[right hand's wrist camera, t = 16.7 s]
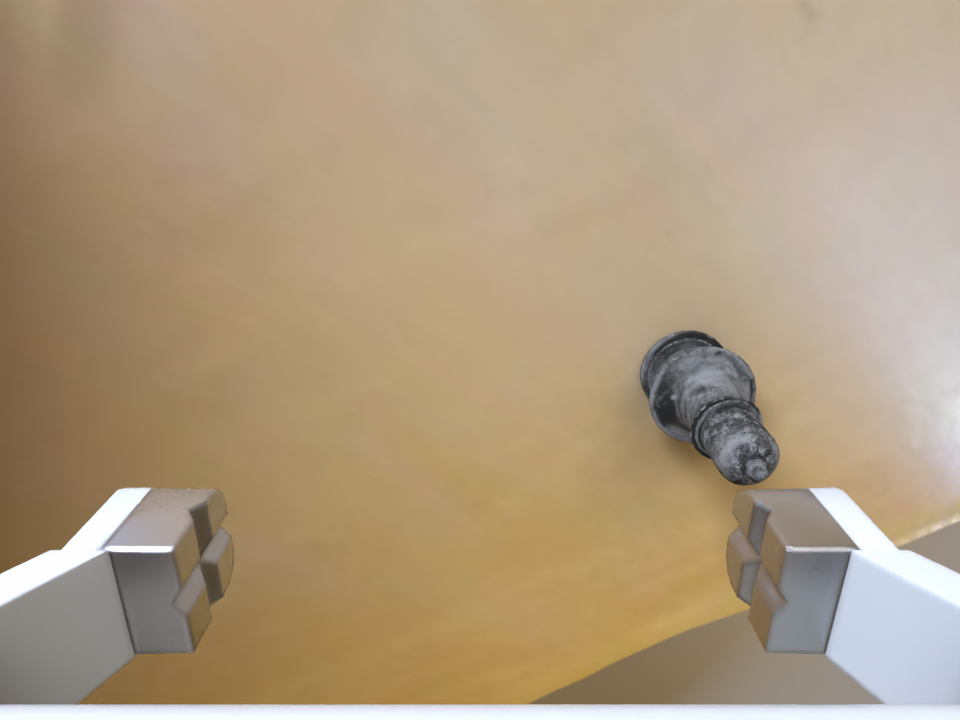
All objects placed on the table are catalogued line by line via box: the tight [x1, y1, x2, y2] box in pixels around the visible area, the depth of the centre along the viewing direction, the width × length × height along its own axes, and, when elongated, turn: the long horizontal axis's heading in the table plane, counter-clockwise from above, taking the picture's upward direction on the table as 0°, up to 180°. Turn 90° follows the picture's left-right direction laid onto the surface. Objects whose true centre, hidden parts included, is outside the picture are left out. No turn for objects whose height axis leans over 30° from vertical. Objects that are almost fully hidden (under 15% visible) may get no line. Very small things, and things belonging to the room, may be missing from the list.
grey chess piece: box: [640, 331, 780, 485], centre depth 34 cm, size 6×6×12 cm
